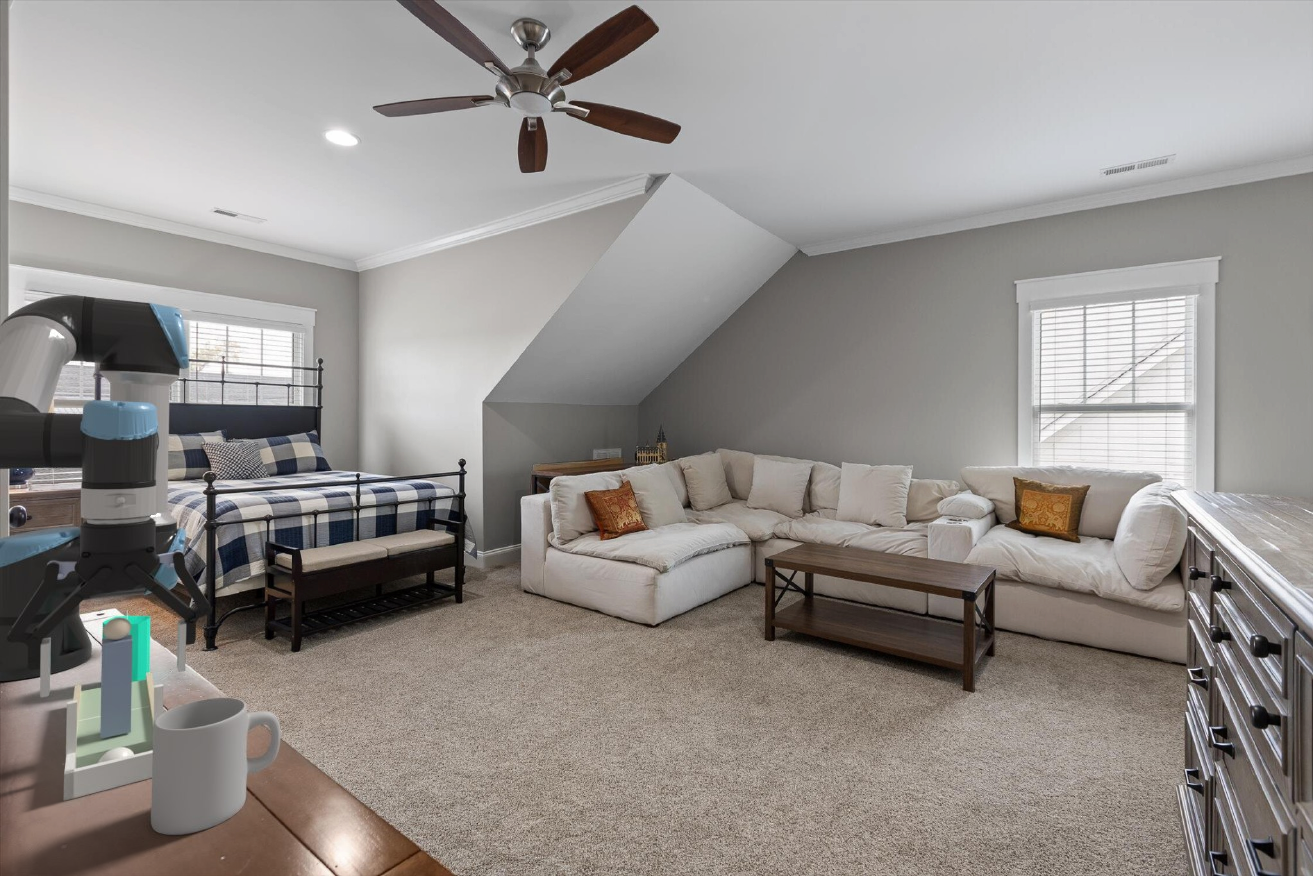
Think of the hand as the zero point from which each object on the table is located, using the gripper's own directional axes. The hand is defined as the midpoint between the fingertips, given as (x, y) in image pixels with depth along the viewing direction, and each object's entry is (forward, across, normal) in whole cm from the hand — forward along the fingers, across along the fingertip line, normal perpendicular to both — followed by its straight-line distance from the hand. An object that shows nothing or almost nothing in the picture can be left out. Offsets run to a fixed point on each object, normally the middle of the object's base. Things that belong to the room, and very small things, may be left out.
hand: (116, 680), depth 84 cm
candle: (+9, +2, +25) cm, 27 cm away
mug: (+8, +9, -24) cm, 27 cm away
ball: (+7, 0, -10) cm, 12 cm away
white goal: (+8, 0, -9) cm, 12 cm away
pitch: (+9, 0, +7) cm, 11 cm away
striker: (+6, 0, -1) cm, 6 cm away
